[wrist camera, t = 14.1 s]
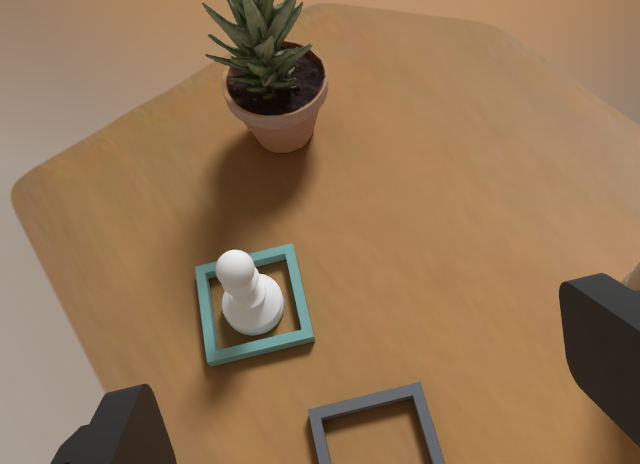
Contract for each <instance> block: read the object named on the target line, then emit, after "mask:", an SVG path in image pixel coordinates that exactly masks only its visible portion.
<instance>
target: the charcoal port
mask: <svg viewBox="0 0 640 464" xmlns="http://www.w3.org/2000/svg"><path fill="white" fill-rule="evenodd" d="M409 399H412V400H413V403H414V407H415V410H416V413H417V417H418V420H419V423H420V427H421V430H422V434H423V437H424V440H425V444H426V447H427V450H428V454H429V457H430V460H431V464H445V461H444V457H443V454H442V451H441V448H440V444H439V441H438V438H437V435H436V432H435V428H434V425H433V422H432V419H431V415H430V412H429V409H428V406H427V402H426V399H425V396H424V393H423V390H422V386H421V383H420V382H418V383H414V384H410V385H406V386H402V387H398V388H394V389H390V390H386V391H381V392H377V393H373V394H369V395H365V396H361V397H357V398H353V399H349V400H345V401H341V402H337V403H333V404H329V405H325V406H321V407H317V408H313V409H309V410H308V412H309V417H310V422H311V427H312V432H313V437H314V442H315V446H316V451H317V456H318V461H319V464H331V459H330V455H329V450H328V446H327V441H326V436H325V432H324V427H323V422H322V421H325V420H329V419H333V418H337V417H341V416H345V415H349V414H353V413H357V412H361V411H365V410H369V409H373V408H377V407H381V406H385V405H389V404H393V403H397V402H401V401H405V400H409Z"/></svg>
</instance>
